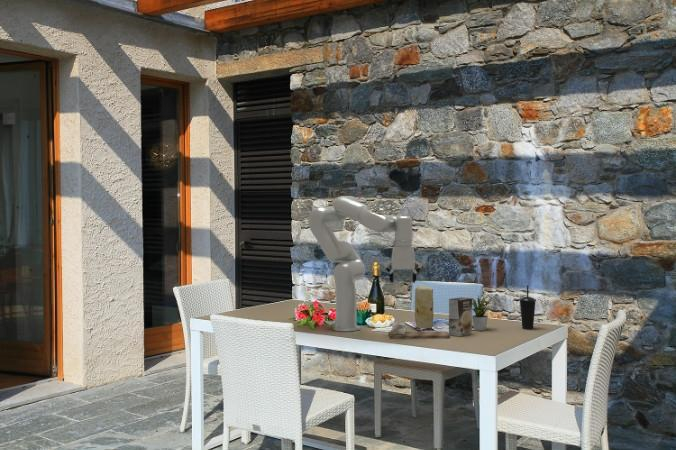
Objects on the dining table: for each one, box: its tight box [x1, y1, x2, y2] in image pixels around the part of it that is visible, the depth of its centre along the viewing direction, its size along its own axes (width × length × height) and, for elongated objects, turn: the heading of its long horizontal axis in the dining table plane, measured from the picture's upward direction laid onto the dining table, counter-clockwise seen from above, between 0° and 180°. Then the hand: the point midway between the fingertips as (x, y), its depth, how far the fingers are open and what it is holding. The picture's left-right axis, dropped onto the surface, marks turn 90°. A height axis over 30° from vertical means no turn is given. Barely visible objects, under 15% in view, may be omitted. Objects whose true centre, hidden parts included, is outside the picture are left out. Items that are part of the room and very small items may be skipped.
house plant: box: [470, 293, 494, 332], centre depth 338 cm, size 14×14×16 cm
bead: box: [391, 322, 406, 334], centre depth 324 cm, size 5×6×4 cm
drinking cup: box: [518, 285, 537, 330], centre depth 340 cm, size 8×8×20 cm
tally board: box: [388, 330, 451, 340], centre depth 324 cm, size 26×10×1 cm, turn 89°
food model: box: [414, 285, 434, 329], centre depth 342 cm, size 10×7×20 cm
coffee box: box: [448, 297, 473, 337], centre depth 328 cm, size 9×6×16 cm
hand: (402, 282), depth 325 cm, fingers open, 9 cm apart
